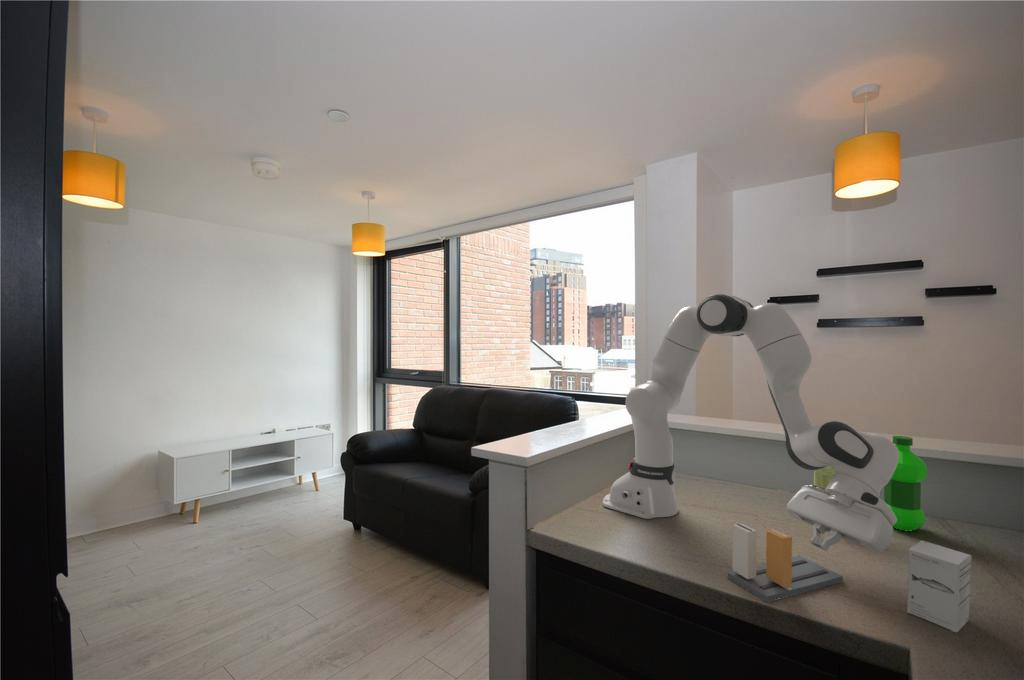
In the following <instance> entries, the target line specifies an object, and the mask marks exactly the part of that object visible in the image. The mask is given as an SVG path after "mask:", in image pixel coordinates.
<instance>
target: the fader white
mask: <svg viewBox="0 0 1024 680" xmlns="http://www.w3.org/2000/svg"><path fill="white" fill-rule="evenodd" d="M757 535H758V534H757V530H756V529H754V528H752V527H750V526H748V525H746V524H743V523H735V524H732V571H735V572H737V573H738V574H740V575H742V576H743V577H745V578H746V579H751V578H755V577H756V565H757Z"/></svg>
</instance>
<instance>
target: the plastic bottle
mask: <svg viewBox="0 0 1024 680" xmlns="http://www.w3.org/2000/svg"><path fill="white" fill-rule="evenodd" d="M892 443H893V444H894V445H895V446H896V447H897V449H898V451H899V461H898V465H897V467H896V469H895V471H894V473H893V475H892V477H891V479H890V480H889V482H888V484H887V485H886V486H884V487H883V488H884V490H883V492H884V494H883V495H884V496H883V497H884V499H883V500H884V501H885V502H886V504H887V505H888V506H889V507H890V508H891V510H892V511H893V513H894V514H895V516H896V518H897V522H896V523H895V524H894V525H891V526H892V527H894V528H896V529H895V530H898V529H899V531H901V530H905V531H904V532H908V531H910V530H914V531H916V530H918V529H920V528H922V527H923V526H924V524H925V522H926V516H925V513H924V511H923V509H922V508H921V501H922V500H921V488H922V487H921V486H922V483H923V481H925V480H927V476H928V467H927V465H926V463H925V461H924V460H923V459H921V458H920V457H919V456H918V455H917V454H916V453H914V452H913V451H912V450H911V446H913V437H910V436H905V435H904V436H902V435H892ZM894 528H893V529H894ZM906 530H907V531H906ZM910 532H911V531H910Z"/></svg>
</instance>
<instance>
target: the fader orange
mask: <svg viewBox="0 0 1024 680" xmlns="http://www.w3.org/2000/svg"><path fill="white" fill-rule="evenodd" d="M765 535H766V538H765V539H766V548H765V549H766V551H765V552H766V553H765V554H766V555H765V557H766V559H765V560H766V561H765V563H766V578H768V579H770V580H772V581H773V582H775V583H777V584H779V585H780V586H782V587H786V586H789V585H792V557H793V537H792V536H791V535H789V534H786V533H785V532H782V531H780V530H778V529H776V528H774V529H768V530H766V534H765Z"/></svg>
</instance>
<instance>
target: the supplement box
mask: <svg viewBox="0 0 1024 680" xmlns="http://www.w3.org/2000/svg"><path fill="white" fill-rule="evenodd" d="M971 563H972V555H971V554H968V553H965V552H961V551H958V550H955V549H952V548H948V547H945V546H942V545H938V544H937V543H932V542H929V541H925V540H920V541H919V542H917V543H915V544H914V545H913V546H911V547H910V548H909V549H908V569H907V570H908V571H907V572H908V573H907V574H908V576H907V607H906V610H907V611H906V612H907V614H910V615H912V616H915V617H918V618H921V619H923V620H926V621H928V622H931V623H934V624H935V625H938V626H940V627H942V628H945V629H947V630H949V631H951V632H954V633H958V632H959V631H960V630H961V629H962V628H963V627H964V626H965V625H966V624H967V622H969V620H970V602H971V601H970V600H971V599H970V598H971V570H972V569H971V568H972V567H971V565H972V564H971Z"/></svg>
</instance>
